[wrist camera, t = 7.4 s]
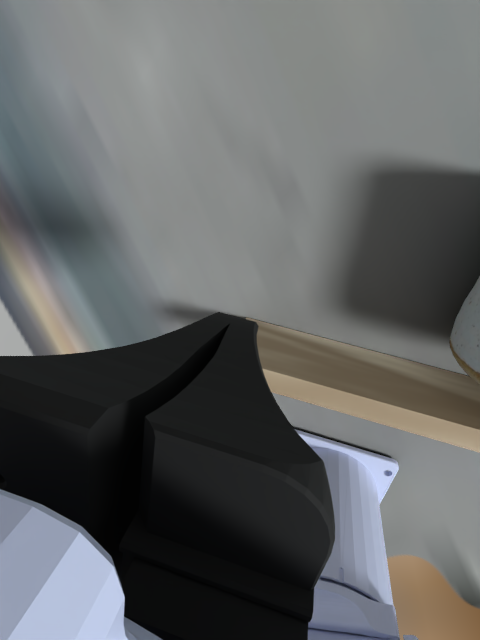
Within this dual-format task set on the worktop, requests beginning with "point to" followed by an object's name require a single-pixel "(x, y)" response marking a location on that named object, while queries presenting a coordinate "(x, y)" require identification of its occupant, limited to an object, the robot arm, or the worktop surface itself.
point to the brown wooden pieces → (371, 385)
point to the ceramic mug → (468, 334)
